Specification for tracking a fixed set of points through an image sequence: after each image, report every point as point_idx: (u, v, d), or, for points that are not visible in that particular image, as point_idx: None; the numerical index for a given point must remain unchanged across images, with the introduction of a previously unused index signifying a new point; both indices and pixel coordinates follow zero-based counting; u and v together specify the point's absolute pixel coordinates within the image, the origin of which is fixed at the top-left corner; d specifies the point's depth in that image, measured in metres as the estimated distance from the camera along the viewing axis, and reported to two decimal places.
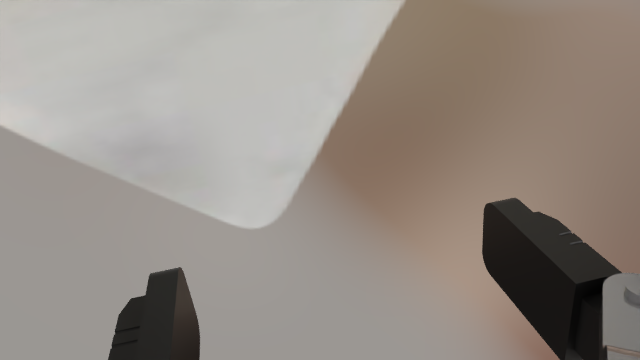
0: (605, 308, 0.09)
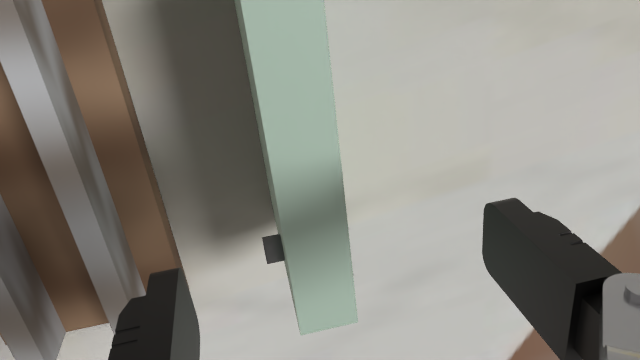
0: (605, 308, 0.09)
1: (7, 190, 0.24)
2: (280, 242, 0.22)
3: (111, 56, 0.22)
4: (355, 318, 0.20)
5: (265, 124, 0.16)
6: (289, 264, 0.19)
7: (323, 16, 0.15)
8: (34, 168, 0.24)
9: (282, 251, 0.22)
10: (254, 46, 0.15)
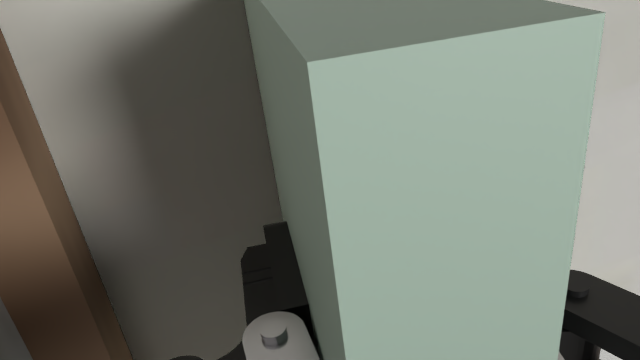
0: None
1: None
2: None
3: (31, 168, 0.12)
4: None
5: None
6: None
7: (572, 209, 0.05)
8: None
9: None
10: (355, 305, 0.05)
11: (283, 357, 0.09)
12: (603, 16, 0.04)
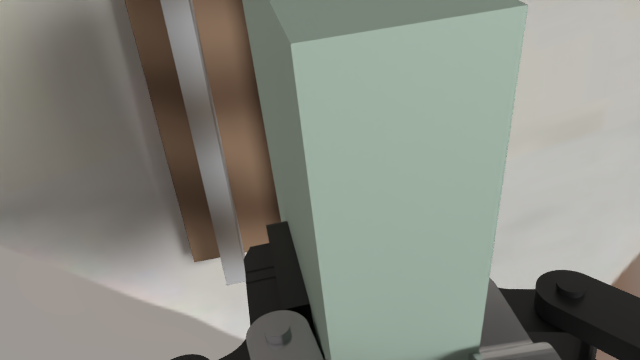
0: None
1: (223, 120, 0.28)
2: None
3: None
4: None
5: (336, 357, 0.07)
6: None
7: (500, 158, 0.06)
8: (248, 101, 0.28)
9: None
10: (328, 230, 0.06)
11: (287, 356, 0.09)
12: (526, 8, 0.05)
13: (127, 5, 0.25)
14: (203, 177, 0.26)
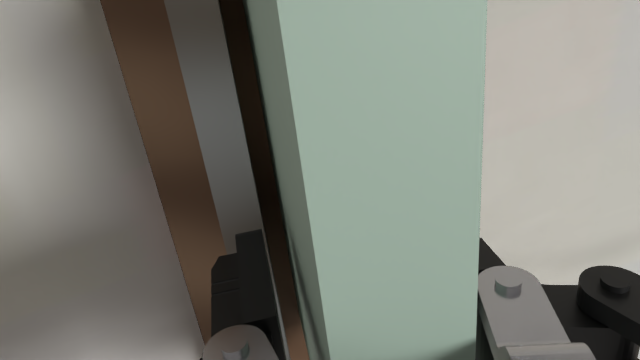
0: None
1: (275, 233, 0.18)
2: None
3: None
4: None
5: (326, 291, 0.07)
6: None
7: (480, 57, 0.06)
8: None
9: None
10: (310, 131, 0.06)
11: None
12: None
13: (123, 70, 0.15)
14: None
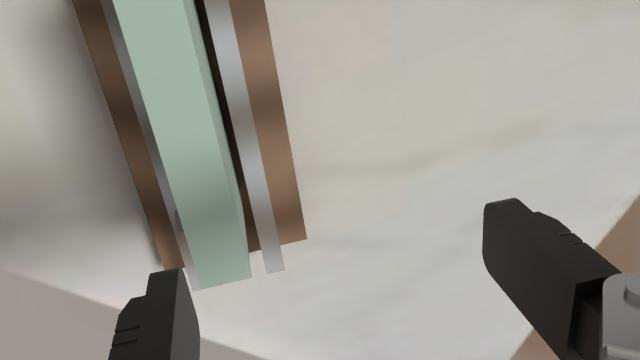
0: (605, 308, 0.09)
1: None
2: None
3: (269, 32, 0.29)
4: (248, 274, 0.24)
5: (147, 104, 0.20)
6: (183, 225, 0.22)
7: (184, 15, 0.19)
8: None
9: None
10: (129, 40, 0.19)
11: None
12: None
13: (87, 41, 0.27)
14: (163, 193, 0.29)
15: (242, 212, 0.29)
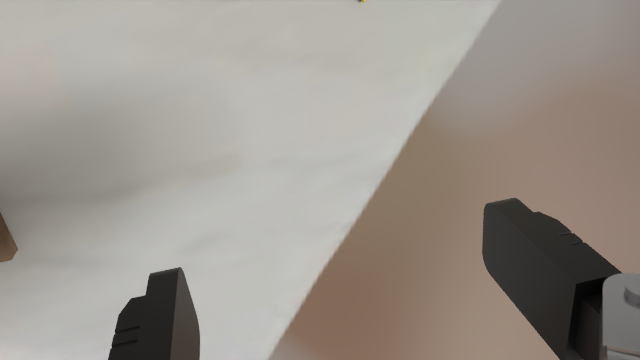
0: (605, 308, 0.09)
1: None
2: None
3: None
4: None
5: None
6: None
7: None
8: None
9: None
10: None
11: None
12: None
13: None
14: None
15: None
